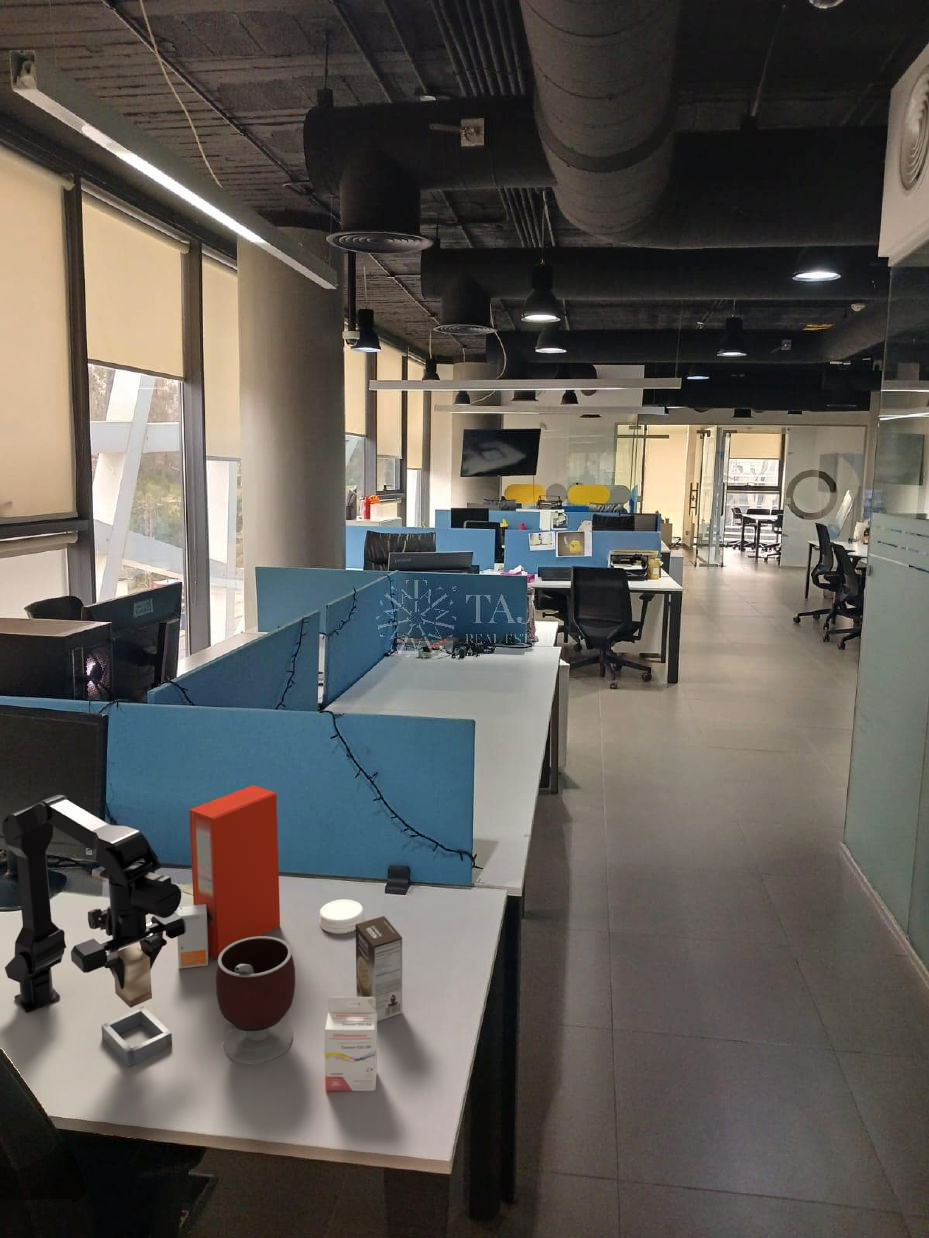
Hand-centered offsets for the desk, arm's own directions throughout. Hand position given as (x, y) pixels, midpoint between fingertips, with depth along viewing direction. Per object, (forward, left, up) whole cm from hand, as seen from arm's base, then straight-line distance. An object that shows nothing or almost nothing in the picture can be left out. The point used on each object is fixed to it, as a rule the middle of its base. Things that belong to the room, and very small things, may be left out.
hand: (132, 982), depth 157 cm
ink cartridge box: (+36, +21, -12) cm, 43 cm away
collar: (0, 0, -12) cm, 12 cm away
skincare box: (-16, +20, -12) cm, 28 cm away
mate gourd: (+16, +15, -12) cm, 25 cm away
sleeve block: (0, 0, -2) cm, 2 cm away
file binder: (-18, +32, -12) cm, 39 cm away
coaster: (-7, +52, -12) cm, 54 cm away
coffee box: (+23, +38, -12) cm, 46 cm away
